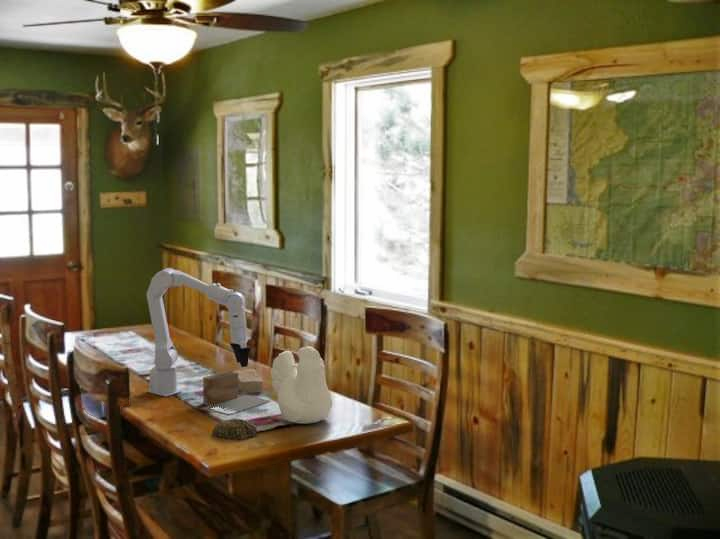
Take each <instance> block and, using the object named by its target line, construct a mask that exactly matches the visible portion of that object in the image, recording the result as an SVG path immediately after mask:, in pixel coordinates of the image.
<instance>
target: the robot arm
mask: <svg viewBox="0 0 720 539" xmlns="http://www.w3.org/2000/svg"><path fill="white" fill-rule="evenodd" d="M179 286H185V287H188V288H190V289H193V290H196V291H198V292H201V293H204V294H205V296H206V298H207V299H209V300H210V301H213V302H215V303H218V304H220V305H223V306H225V307H226V308H227V310H228V321H229V322H228V323H229V331H230V342H231V343H230V344H229V345H230V348H232V350H233V353H234V357H235V360H236V362H237V363H239V364H240V367H241V368H245V367H248V366H249V365H248V364H249V356H250V353H251V349H252V347H251V346H249V345H248V344H247V342H248V341H250V340H252V337H251V336H248V331H247V330H248V329H247V320H246V313H245V306H244V304H245V297H244V295H243V294H242V293H241V292H240V291H237V290H236V291H234V289H232V288H230V289H228V288H226V287H224V286H222V285H221V283H220V282H217V283H215V282H213V283H211V284H209V283H205V282H204V281H201V280H200V279H198V278H196V277H193V276H191V275H190V274H188V273H185V272H184V271H181V270H178V269H174V268H172V267H166V268H164V269H162V270H160V271H157V272H156V274H154V276H153V277H152V278H151V282H150V284H149V286H148V289H147V292H146V300H147V304H148V310H149V315H150V316H149V317H150V320H151V325H152V331H153V335H154V341H155V347H154V353H155V354H154V359H153V362H154V365H155V366H154V367H152V368H151V370H150V372H149V374H148V375H149V389H148V390H147V392H148V393H149V394H154V395H158V396H162V397H168V396H173V395H177V394H180V393H182V392H183V390H182V389H177V388H178V384H177V380H178V379H177V378H178V375H177V374H178V373H177V372H178V371H177V370H178V369H177V365H176V362H177V360H178V357H179V354H178V351H177V350H176V348H175V346H174V342H173V341H172V339H171V337H170V336H171V335H170V329H169V325H168V321H167V320H168V319H167V316H166V310H165V309H166V308H165V305H164V304H165V303H164V300H163V295H165V293H166V292H167V291H168V289H169V288H171V287H179ZM247 345H248V346H247Z"/></svg>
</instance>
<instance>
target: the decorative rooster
mask: <svg viewBox="0 0 720 539" xmlns="http://www.w3.org/2000/svg"><path fill="white" fill-rule="evenodd" d="M277 355H278V356H277V357H275V358H274V360H273V361H272V362H273V363H272V365H271V366H272V368H271V370H270V378H271V380H272V382H271V383H272V389H273V391H274V392H275V393H276V395H277V403H278V406H279V411H280V414H281V415H282V417H283V418H284V420H286V421H287V422H290V423H295V424H313V423H318V422H320V421H322V420H324V419H326V417H328V415H329V414H330V412H331V409H332V407H333V401H332V400H333V399H332V397H331V393H330V391H329V387H328V384H327V379H326V366H325V362H324V359H322V357H321V354H320V353H319V351H318V350H317V349H316V348H314V347H312V346H309V345H308V346H304V347H301V348H299V349H298V351H297V357H298V362H297V363H296V361H295V357H294V355H293V353H292V351H290V350H285V351H283V352H281V353H278V354H277Z"/></svg>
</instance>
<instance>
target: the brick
mask: <svg viewBox="0 0 720 539" xmlns="http://www.w3.org/2000/svg"><path fill="white" fill-rule="evenodd" d="M232 372H237V373H238V390H239V391H240V392H241V393H242V394H246V393H247V392H249V393H262V392H264V380H263V378H261V377H260V376H259V374H258V373H257V371H256V369H254V368H253V369H252V368H247V369H246V368H245V369H240V370H239V369H237V370H233V371H232Z"/></svg>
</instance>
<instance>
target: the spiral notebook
mask: <svg viewBox="0 0 720 539" xmlns="http://www.w3.org/2000/svg"><path fill="white" fill-rule="evenodd" d="M269 402H271V400H268V399H266V398H265V399H264V398H261V397H257V396H253V395H249V394H246V395H243V396H238V398H235V399H232V400H229V401H226V402H222V403H219V404H216V405H213V406H212V405H210V406H208V407H206V408H207V409H206V410H209V409H211V408H213V407H214V408H215V407H218V406H219V408H220V407H221V408H222V409H224V408H227V407H228V410H229V409H232V408H233V409H232V410H235V409H237V410H236V411H238V410H241V409H242V410H244V411H246V410H245V409H247V410H249V409H252V408H255V407H257V406H261V405H264V404H267V403H269ZM260 404H261V405H260ZM254 406H255V407H254ZM251 407H252V408H251ZM212 410H213V409H211V410H210V411H212ZM214 410H215V409H214ZM226 410H227V409H226ZM232 410H231V411H232ZM242 410H241V412H243V411H242ZM224 411H225V410H224Z"/></svg>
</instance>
